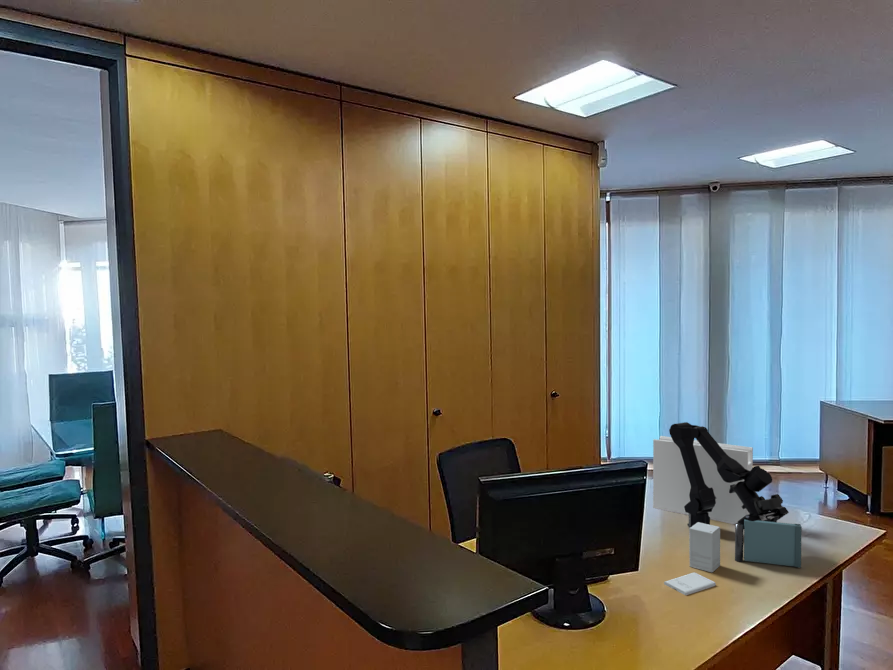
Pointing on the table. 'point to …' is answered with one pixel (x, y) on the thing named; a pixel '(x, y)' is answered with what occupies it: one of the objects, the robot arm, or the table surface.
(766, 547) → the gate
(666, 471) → the block
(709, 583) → the external hard drive
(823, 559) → the table surface
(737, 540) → the gate post
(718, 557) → the supplement box
